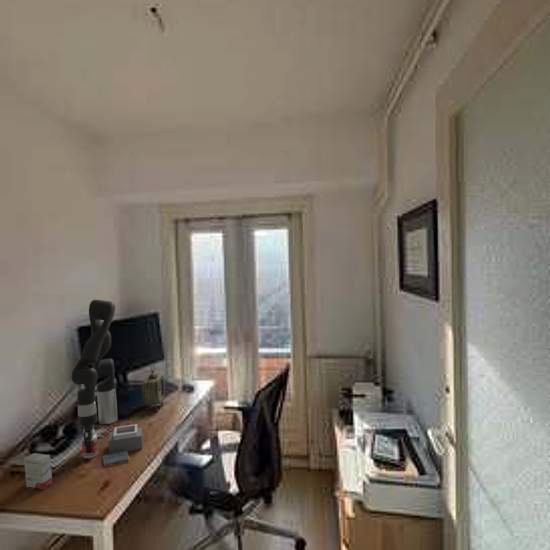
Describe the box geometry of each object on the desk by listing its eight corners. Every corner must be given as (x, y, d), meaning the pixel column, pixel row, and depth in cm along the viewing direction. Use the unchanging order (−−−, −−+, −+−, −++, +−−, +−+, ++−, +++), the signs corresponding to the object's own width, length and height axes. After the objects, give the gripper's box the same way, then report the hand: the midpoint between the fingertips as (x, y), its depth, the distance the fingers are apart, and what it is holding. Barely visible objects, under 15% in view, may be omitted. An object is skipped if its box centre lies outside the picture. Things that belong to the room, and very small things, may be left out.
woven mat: (104, 469, 180) (104, 464, 180) (102, 459, 190) (101, 454, 190) (130, 463, 185) (130, 458, 185) (127, 453, 194) (126, 448, 194)
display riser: (111, 444, 202) (110, 428, 202) (142, 439, 206) (141, 423, 206) (109, 454, 193) (108, 436, 192) (142, 448, 197) (141, 431, 196)
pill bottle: (96, 457, 190) (95, 432, 190) (81, 459, 189) (79, 434, 188) (99, 451, 196) (97, 427, 196) (84, 453, 195) (82, 429, 194)
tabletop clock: (159, 412, 241) (156, 368, 239) (142, 413, 241) (139, 368, 240) (166, 403, 255) (163, 361, 254) (150, 404, 255) (147, 362, 254)
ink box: (53, 483, 170) (50, 454, 169) (43, 490, 165) (40, 460, 165) (36, 481, 173) (34, 452, 172) (25, 487, 168) (23, 457, 167)
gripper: (94, 417, 186) (97, 455, 187) (98, 406, 199) (101, 441, 200) (75, 420, 183) (78, 458, 184) (80, 408, 197) (83, 444, 198)
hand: (90, 449), depth 192 cm, fingers closed on pill bottle, 6 cm apart
